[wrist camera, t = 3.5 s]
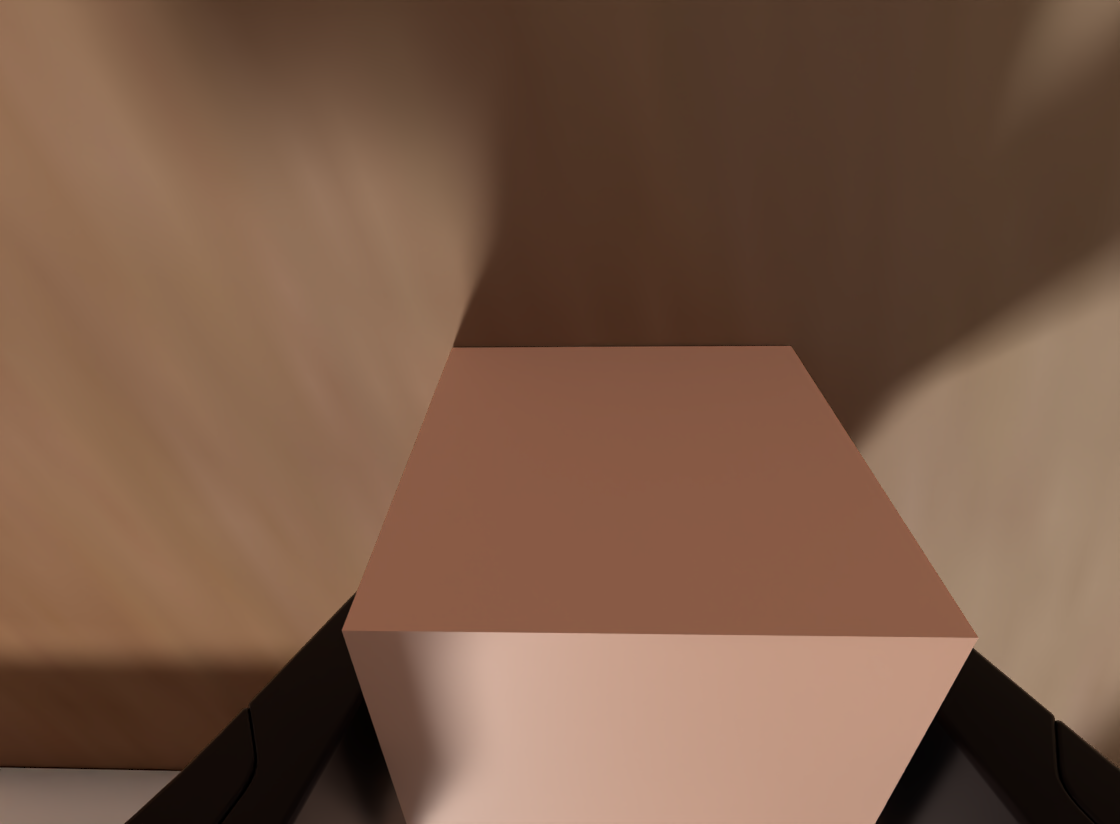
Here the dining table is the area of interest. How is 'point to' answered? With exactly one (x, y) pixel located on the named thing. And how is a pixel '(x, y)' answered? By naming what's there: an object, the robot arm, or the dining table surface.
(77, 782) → the tote
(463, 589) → the terracotta cube
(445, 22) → the dining table surface
